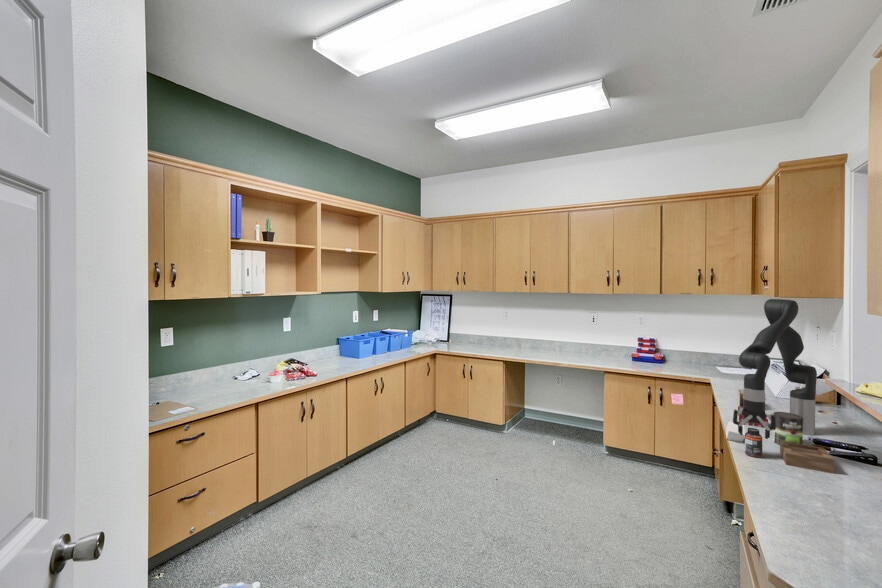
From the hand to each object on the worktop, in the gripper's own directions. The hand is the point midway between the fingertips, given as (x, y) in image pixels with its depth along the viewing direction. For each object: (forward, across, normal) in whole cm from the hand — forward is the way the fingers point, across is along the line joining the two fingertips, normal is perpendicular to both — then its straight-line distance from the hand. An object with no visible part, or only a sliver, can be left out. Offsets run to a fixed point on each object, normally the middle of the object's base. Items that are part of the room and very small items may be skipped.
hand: (753, 436), depth 169 cm
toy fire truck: (+8, -5, -44) cm, 45 cm away
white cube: (+8, +5, -15) cm, 18 cm away
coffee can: (+8, -15, -22) cm, 28 cm away
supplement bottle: (+8, 0, 0) cm, 8 cm away
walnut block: (+8, -17, -2) cm, 19 cm away
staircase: (+8, -6, -76) cm, 76 cm away
